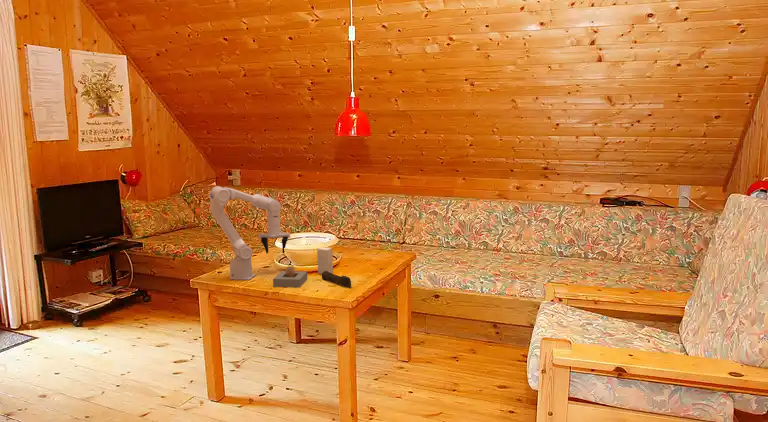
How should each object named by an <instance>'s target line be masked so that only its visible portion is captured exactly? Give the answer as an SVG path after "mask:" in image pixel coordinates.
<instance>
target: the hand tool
mask: <svg viewBox="0 0 768 422" xmlns="http://www.w3.org/2000/svg"><path fill="white" fill-rule="evenodd" d="M321 279H322V280H324V281H329V282H332V283H335V284H338V285H340V287H343V288H349V289H351V288H352V281H351V278H350V277H349V276H347V275H337V274H334V273H329V272H328V271H324V272H323V273H322V274H321Z"/></svg>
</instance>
